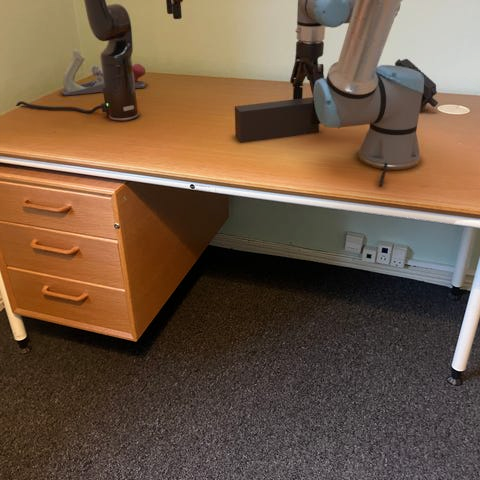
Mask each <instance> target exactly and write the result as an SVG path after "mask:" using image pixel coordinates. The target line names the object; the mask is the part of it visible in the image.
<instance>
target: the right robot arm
mask: <svg viewBox="0 0 480 480" xmlns="http://www.w3.org/2000/svg"><path fill="white" fill-rule="evenodd" d="M403 1H404V0H297V10H296V11H297V12H296V13H297V15H296V17H297V19H296V29H295V33H296V40H297V41H296V43H295V57H294V63H293V64H294V65H293V67H292V71H291V76H290V80H289V82H290V84H291V85H292V100H293V99H301V98H303V94H304V93H303V92H304V88H303V87H304V82H305V79H306V80H307V81H308V82H309V87H310V90H311V94H312V97H313V99H314V100H313V101H312V113H311V125H317V124H319V125H322V126H323V127H324V128H327V129H342V128H349V127H356V126H365V125H369V126H368V130H367V132H366V135H364V136H365V137H364V138H363V141H362V143H361V145H360V147H359V151H358V159H359V160H360V162H362V163H363V164H364V165H367V166H369V167H372V168H374V169H378V170H382V173H381V177H380V180H379V183H378V186H379V187H380V188H381V187H382V186H383V183H384V179H385V174H386V172H387V171H403V170H408V169H412V168H414V167H416V166H418V164H419V163H420V158H421V156H420V155H421V153H420V151H421V150H420V146H419V140H418V135H417V130H418V124H419V119H420V111H421V109H420V106H421V100H422V94H423V93H424V91H423V90H424V77H423V75H422V74H421V73H420V72H418V71H416V70H413V69H410V68H406V67H401V66H395V64H394V65H393V64H380V65H379V63H380V59H381V57H382V54H383V51H384V49H385V46H386V44H387V41H388V38H389V35H390V32H391V30H392V27H393V24H394V21H395V19H396V17H397V16H398V12H400V10H401V6H402V5H401V3H402V2H403ZM343 24H344V25H345V24H348V26H347V28H346V29H347V30H346V33H345V36H344V39H343V44H342V46H341V50H340V54H339V57H338V61H336V62H334V63H333V64H331V65H330V67H329V69H328V71H327V75H326V78H325V73H324V69H325V68H324V64H323V63H319V58H321V57H323V55H324V50H325V49H324V47H325V43H324V40H325V37H326V36H325V34H326V28H331V29H332V28H333V29H334V28H338V27H341V26H342V25H343Z"/></svg>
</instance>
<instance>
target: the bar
mask: <svg viewBox="0 0 480 480" xmlns="http://www.w3.org/2000/svg"><path fill="white" fill-rule="evenodd" d="M313 100H314V99H313V96H312V97H302V98H301V99H293V98H292V99H285V100H276V101H268V102H260V103H251V104H242V105H234V131H235V132H234V134H235V138H236V139H237V140H238V142H239V143H248V142H255V141H256V142H257V141H263V140H270V139H271V140H272V139H278V138H284V137H285V138H286V137H293V136H294V137H295V136H301V135H307V134H315V133H319V132H320V124H317V125H311V113H312V101H313Z"/></svg>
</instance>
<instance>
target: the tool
mask: <svg viewBox="0 0 480 480" xmlns="http://www.w3.org/2000/svg"><path fill="white" fill-rule="evenodd" d="M394 66H401V67H406V68H410V69H413V70H416V71H418V72H420V73H421V74H422V75H423V77H424V90H423V91H424V93H423V94H422V100H421V106H420V110H422V109H423V108H425V107H426V106H427V105H428V104H429V105H430V106H431V107H433V108H435V107H436V106H437V105H438V104H439V102H438V101H437V99H435V98H434V96H435V95H437V94H438V91H437V84H436V82H434V81H433V80H432V79H431V78H429V76H427V74H425V73H424V72H423V71H422V70H421V69H420V68H419V67H418V66H417V65H416V64H414V63H413V62H412V61H411V60H410V59H408V58H404V59H400V58H398V59H397V60H396V61H395V63H394Z"/></svg>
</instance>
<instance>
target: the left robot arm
mask: <svg viewBox="0 0 480 480" xmlns="http://www.w3.org/2000/svg"><path fill="white" fill-rule="evenodd" d="M83 2H84V7H85V12H86V17H87V21H88V25H89V28H90V30H91V33H92V35H93V36H94V37H95V38H96V39H97V40H98V41H101V42H107V45H106V46H105V48H104V49H103V50H102V51H101V52H100V55H99V56H100V57H99V58H100V64H101V68H102V71H103V78H104V84H105V87H103V92H102V94H103V100H104V101H103V102H101V103H100V104H99V105H97V106H94V107H93V108H92V109H83V108H81V107H76V106H50V105H49V106H47V105H40V104H39V105H38V104H32V103H28V102H26V101H17V103H16V105H15V106H16V107H20V106H21V105H23V106H25V107H27V108H33V109H39V110H50V111H51V110H52V111H61V110H62V111H77V112H79V113H83V114H93V113H95V112H96V111H97V110H101V112H102V113H105V114H106V118H109V120H111V121H115V122H126V121H127V122H128V121H132V120H134V119H137V118H138V117H139V115H140V113H139V108H138V100H137V90H136V88H135V82H134V74H133V58H132V55H133V51H134V44H133V43H134V42H133V32H132V21H131V17H130V14H129V12H128V10H127V9H126V8H125V6H123V5H122V4H119V3H112V4H107V1H106V0H83ZM183 2H184V0H165V4H166V13H167V14H168V15H172V18H173V19H174V20H181V19H182V18H183V17H182V4H183Z"/></svg>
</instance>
